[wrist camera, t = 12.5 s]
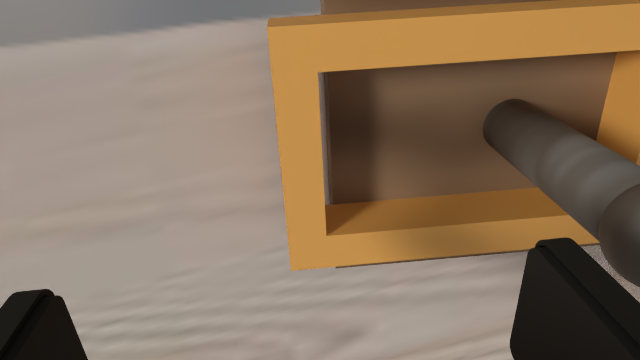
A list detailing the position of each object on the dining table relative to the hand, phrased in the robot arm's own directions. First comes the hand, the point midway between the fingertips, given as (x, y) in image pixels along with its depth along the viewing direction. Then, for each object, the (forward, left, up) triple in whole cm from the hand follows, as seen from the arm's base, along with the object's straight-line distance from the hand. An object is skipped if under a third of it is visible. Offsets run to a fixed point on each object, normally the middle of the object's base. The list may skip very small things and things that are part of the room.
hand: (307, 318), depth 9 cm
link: (0, +7, -11) cm, 13 cm away
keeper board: (0, +10, -13) cm, 16 cm away
